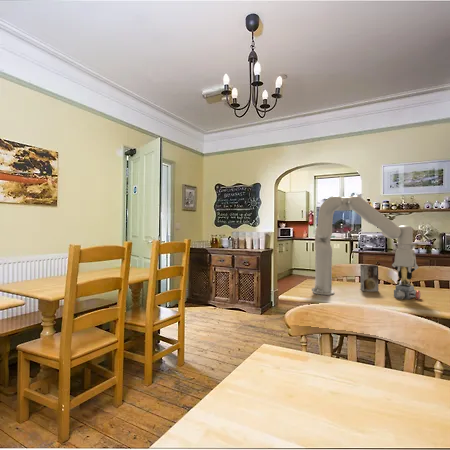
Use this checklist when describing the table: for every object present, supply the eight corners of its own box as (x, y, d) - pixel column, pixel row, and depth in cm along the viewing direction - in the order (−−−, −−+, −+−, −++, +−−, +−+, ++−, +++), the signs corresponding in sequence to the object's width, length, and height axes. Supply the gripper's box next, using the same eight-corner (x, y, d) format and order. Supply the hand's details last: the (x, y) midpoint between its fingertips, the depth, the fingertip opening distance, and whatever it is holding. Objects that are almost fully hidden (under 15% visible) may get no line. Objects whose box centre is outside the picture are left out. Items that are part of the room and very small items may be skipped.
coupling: (407, 285, 173) (407, 267, 173) (399, 283, 176) (399, 266, 176) (410, 284, 176) (410, 266, 176) (402, 283, 179) (402, 266, 179)
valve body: (413, 302, 166) (413, 289, 166) (391, 298, 174) (391, 286, 174) (423, 297, 176) (423, 285, 176) (402, 294, 184) (402, 282, 184)
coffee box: (374, 289, 196) (374, 264, 196) (378, 291, 189) (378, 265, 189) (360, 289, 197) (360, 264, 197) (363, 291, 190) (363, 265, 190)
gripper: (423, 247, 172) (423, 279, 172) (392, 245, 185) (392, 276, 185) (418, 248, 167) (418, 281, 167) (387, 246, 180) (387, 277, 180)
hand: (404, 278), depth 176 cm, fingers closed on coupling, 4 cm apart
